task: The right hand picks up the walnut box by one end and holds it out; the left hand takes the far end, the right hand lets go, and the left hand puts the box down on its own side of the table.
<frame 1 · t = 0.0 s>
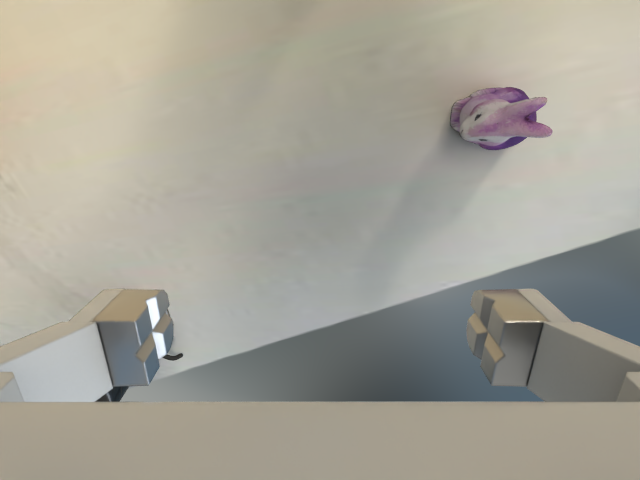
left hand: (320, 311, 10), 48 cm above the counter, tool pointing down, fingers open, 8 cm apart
figurine: (480, 119, 54), on the counter
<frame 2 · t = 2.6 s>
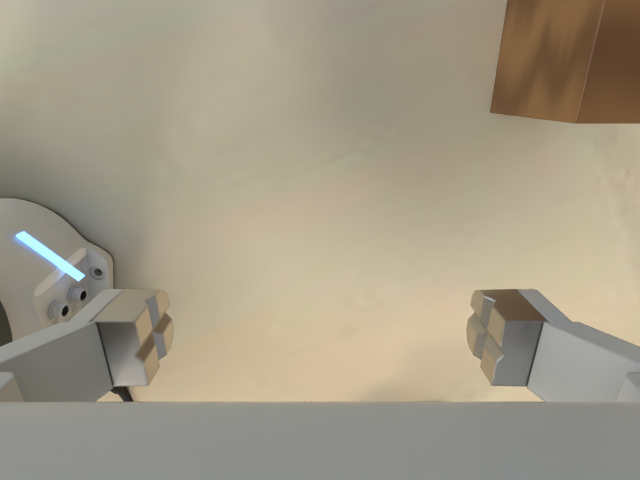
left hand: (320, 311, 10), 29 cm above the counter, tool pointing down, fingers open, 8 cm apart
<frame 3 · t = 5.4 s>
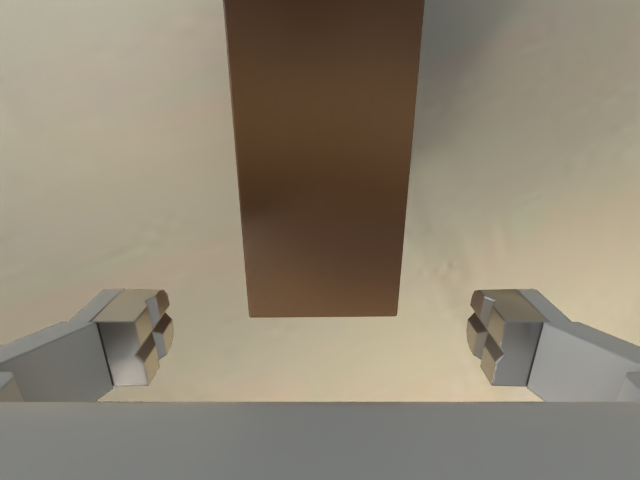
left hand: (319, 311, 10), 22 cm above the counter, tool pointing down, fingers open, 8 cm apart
box: (319, 55, 24), point 5 cm above the counter, touching right hand
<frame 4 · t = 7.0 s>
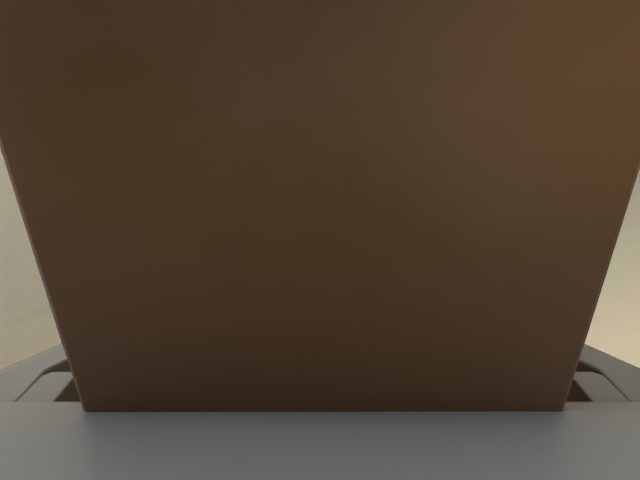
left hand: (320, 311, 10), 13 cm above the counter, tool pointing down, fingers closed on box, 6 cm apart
box: (320, 34, 15), point 5 cm above the counter, touching left hand, right hand
when the right hand's fingers open (13 cm above the counter, at t = 8.3 s): box moves 2 cm, held by the left hand.
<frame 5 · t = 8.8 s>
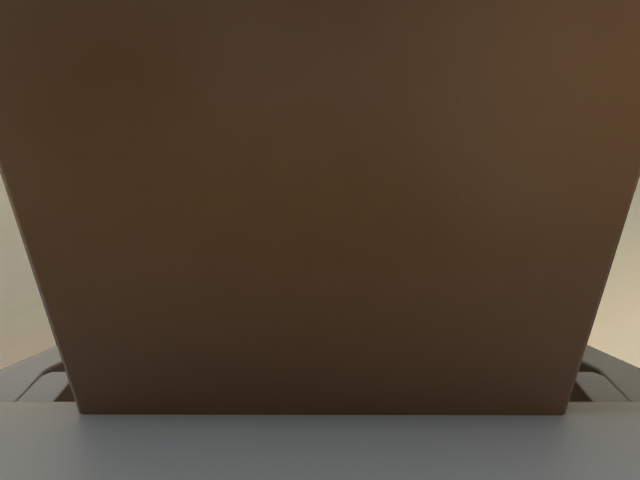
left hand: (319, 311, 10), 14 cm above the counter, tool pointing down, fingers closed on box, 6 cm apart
box: (320, 33, 15), point 6 cm above the counter, touching left hand
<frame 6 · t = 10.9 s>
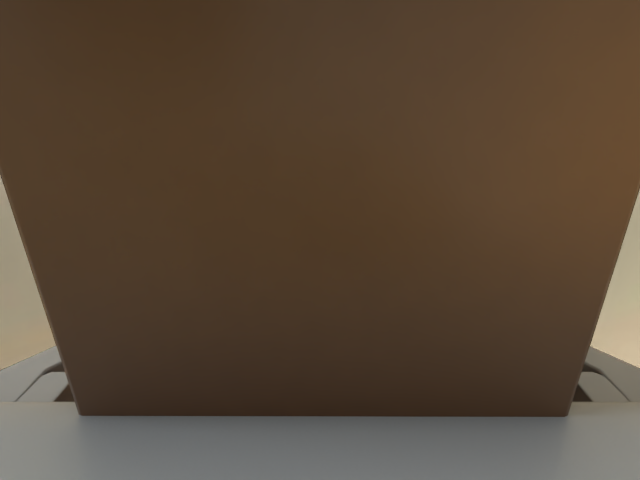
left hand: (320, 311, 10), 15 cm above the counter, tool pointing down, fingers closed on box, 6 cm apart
box: (320, 33, 15), point 7 cm above the counter, touching left hand
when the left hand's fingers open (9 cm above the counter, at t = 12.8 s): box stays where it is, on the counter.
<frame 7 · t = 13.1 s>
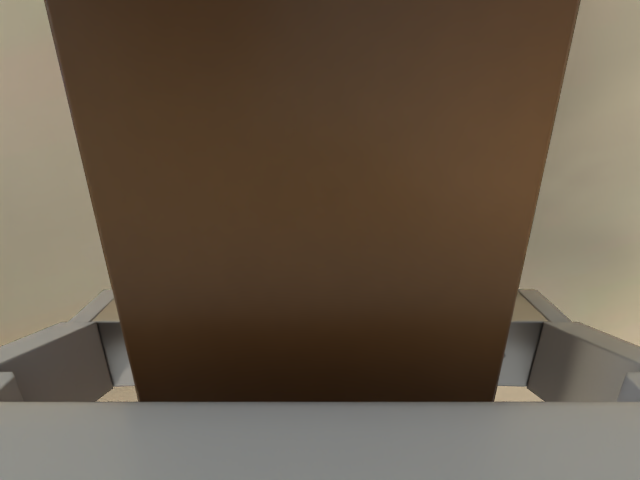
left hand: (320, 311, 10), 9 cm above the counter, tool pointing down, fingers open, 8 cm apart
box: (318, 58, 16), on the counter
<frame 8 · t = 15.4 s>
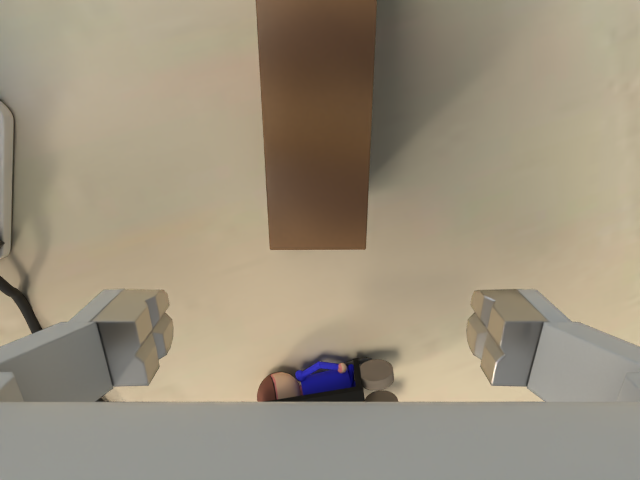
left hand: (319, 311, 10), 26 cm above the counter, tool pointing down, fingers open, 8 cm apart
figurine character: (324, 372, 44), on the counter
box: (317, 74, 32), on the counter
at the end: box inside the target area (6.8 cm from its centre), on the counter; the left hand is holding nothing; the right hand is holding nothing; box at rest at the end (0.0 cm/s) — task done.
